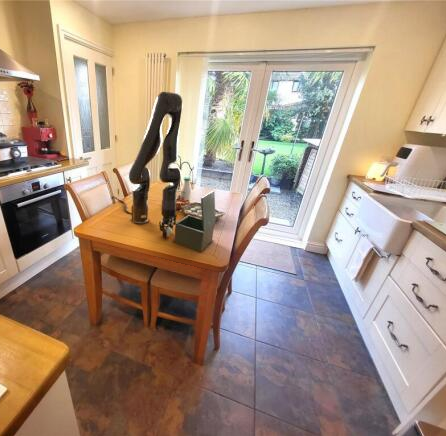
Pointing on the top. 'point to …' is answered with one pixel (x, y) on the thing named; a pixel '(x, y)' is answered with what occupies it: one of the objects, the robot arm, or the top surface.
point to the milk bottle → (186, 190)
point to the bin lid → (208, 210)
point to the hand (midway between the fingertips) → (167, 234)
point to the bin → (193, 233)
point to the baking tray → (198, 210)
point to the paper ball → (169, 232)
